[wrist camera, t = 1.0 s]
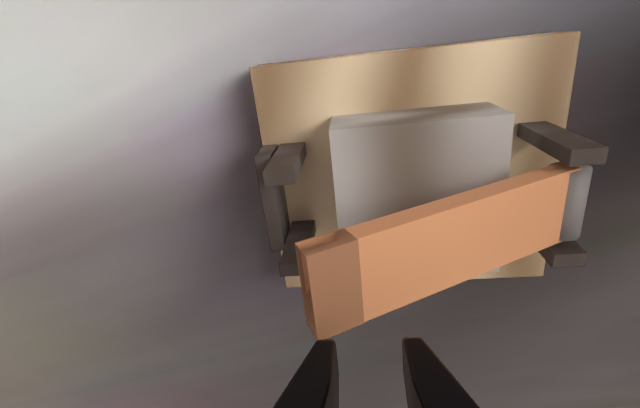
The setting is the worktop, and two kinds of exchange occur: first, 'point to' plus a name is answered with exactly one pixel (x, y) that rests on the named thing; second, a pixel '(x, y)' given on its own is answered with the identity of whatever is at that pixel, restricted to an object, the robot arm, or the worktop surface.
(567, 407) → the worktop surface
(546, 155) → the clamp base
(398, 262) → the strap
